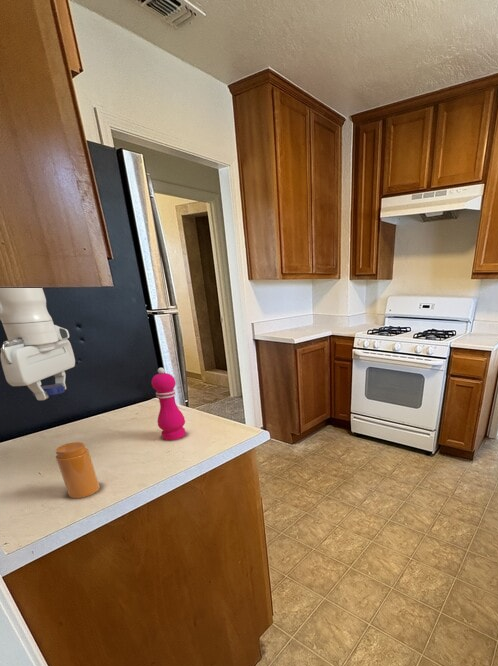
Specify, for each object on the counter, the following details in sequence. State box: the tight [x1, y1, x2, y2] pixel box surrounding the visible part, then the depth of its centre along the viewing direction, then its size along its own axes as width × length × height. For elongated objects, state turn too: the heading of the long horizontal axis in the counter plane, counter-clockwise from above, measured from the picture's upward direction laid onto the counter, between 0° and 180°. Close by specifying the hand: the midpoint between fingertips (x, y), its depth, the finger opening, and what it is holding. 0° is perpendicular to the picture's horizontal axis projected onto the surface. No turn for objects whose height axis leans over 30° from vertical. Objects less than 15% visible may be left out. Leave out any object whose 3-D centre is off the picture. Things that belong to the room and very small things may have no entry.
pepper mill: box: [151, 367, 186, 441], centre depth 98 cm, size 7×7×20 cm
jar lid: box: [31, 384, 66, 397], centre depth 84 cm, size 6×6×2 cm
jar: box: [55, 441, 100, 499], centre depth 73 cm, size 6×6×10 cm
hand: (52, 394), depth 84 cm, fingers closed on jar lid, 6 cm apart
